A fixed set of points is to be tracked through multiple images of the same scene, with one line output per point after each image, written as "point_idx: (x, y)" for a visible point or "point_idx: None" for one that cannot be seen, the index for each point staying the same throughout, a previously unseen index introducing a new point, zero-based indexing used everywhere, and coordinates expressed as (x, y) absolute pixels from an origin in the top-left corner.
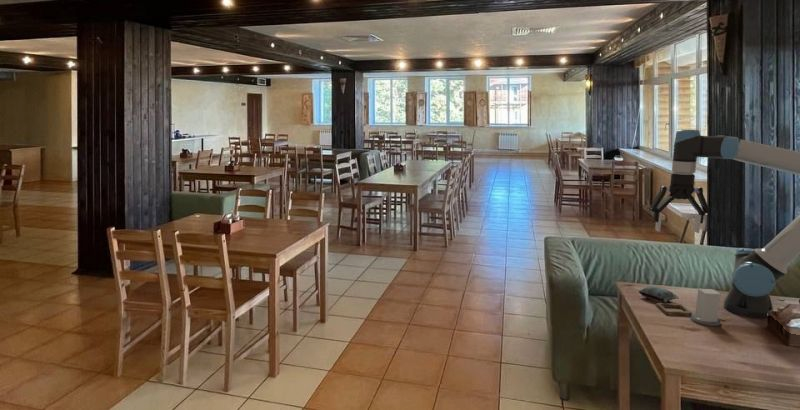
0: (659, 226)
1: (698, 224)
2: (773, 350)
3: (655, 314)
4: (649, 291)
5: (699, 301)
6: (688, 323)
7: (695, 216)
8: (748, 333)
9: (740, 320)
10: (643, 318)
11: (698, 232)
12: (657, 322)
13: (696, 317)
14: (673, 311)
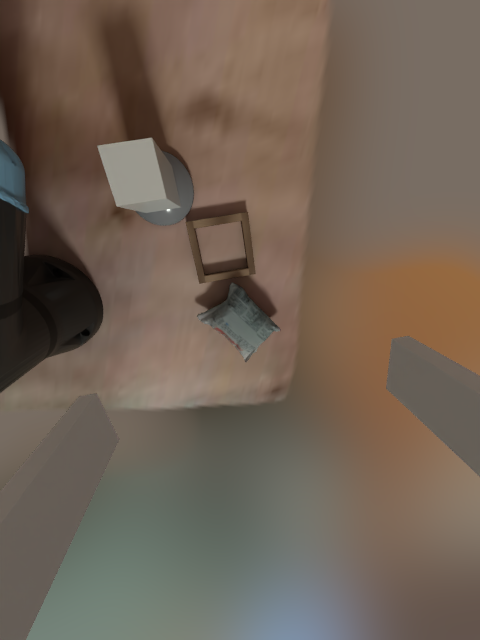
0: (440, 359)
1: (39, 463)
2: None
3: (269, 208)
4: (263, 316)
5: (169, 184)
6: (205, 158)
7: (24, 631)
8: (64, 116)
9: (75, 223)
10: (306, 166)
11: (83, 397)
12: (280, 142)
13: (180, 194)
14: (229, 218)
